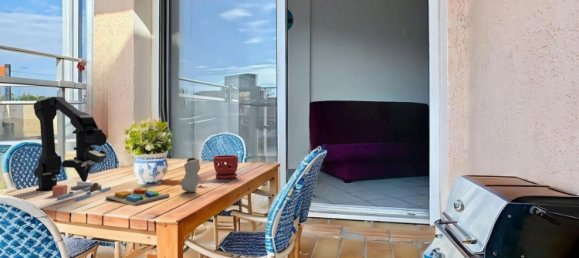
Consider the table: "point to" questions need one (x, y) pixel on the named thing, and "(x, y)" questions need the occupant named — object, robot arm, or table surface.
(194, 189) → the figurine
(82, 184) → the dome
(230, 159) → the plant pot
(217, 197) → the table surface
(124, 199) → the shape sorting puzzle
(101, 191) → the lane
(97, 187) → the pawn
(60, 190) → the die
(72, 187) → the dome base
